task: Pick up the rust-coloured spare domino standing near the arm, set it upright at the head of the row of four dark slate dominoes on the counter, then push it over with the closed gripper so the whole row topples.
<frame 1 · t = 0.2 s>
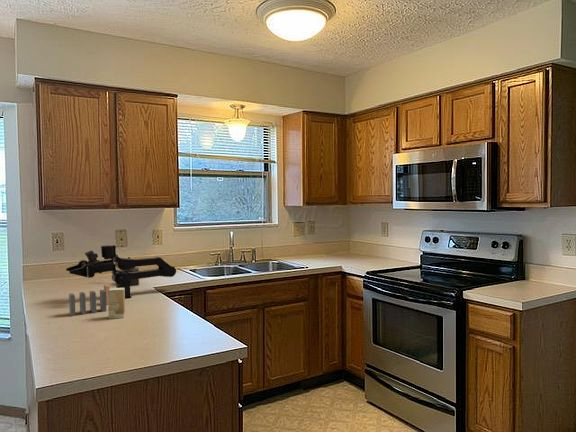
hand: (67, 270, 213), 16 cm above the countertop, tool horizontal, fingers open, 9 cm apart
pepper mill: (125, 285, 263), on the countertop
domino 4: (82, 313, 197), on the countertop
domino 5: (72, 314, 194), on the countertop
domino 3: (93, 311, 199), on the countertop
skincare box: (117, 317, 190), on the countertop
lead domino: (107, 304, 214), on the countertop
domino 2: (103, 310, 202), on the countertop
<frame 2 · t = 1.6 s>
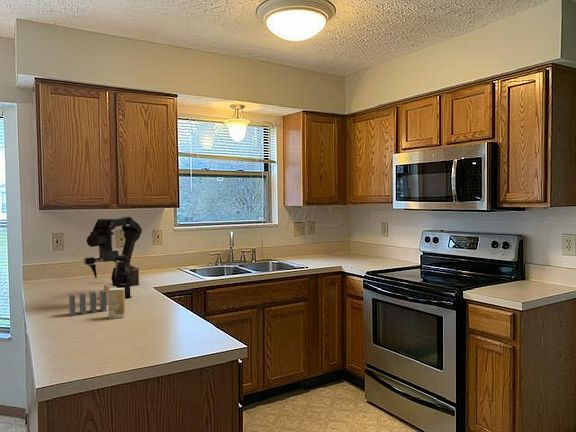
hand: (106, 277, 213), 13 cm above the countertop, tool pointing down, fingers open, 9 cm apart
nothing on the countertop moved.
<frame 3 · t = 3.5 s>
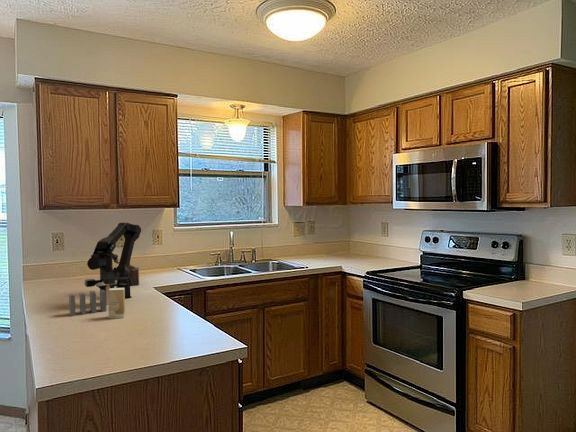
hand: (107, 298, 214), 3 cm above the countertop, tool pointing down, fingers closed on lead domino, 2 cm apart
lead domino: (107, 304, 214), on the countertop, touching gripper
everything else where it was.
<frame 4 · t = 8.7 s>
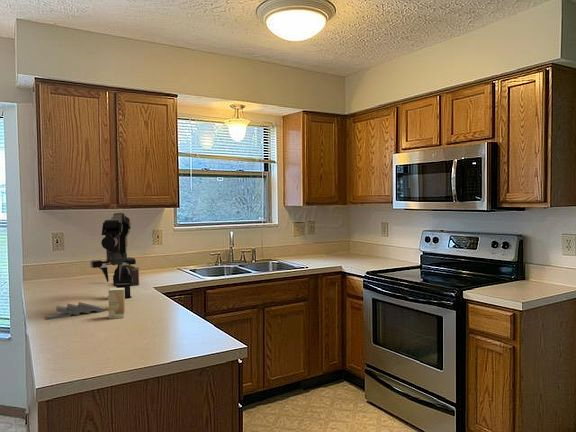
hand: (113, 281, 204), 13 cm above the countertop, tool pointing down, fingers open, 5 cm apart
domino 4: (78, 312, 196), point 1 cm above the countertop, tilted 71°, touching domino 3
domino 5: (69, 314, 194), on the countertop, tilted 90°
domino 3: (89, 310, 198), point 1 cm above the countertop, tilted 69°, touching domino 2, domino 4
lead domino: (115, 309, 204), on the countertop
domino 2: (99, 309, 201), point 1 cm above the countertop, tilted 69°, touching domino 3
everything else where it was.
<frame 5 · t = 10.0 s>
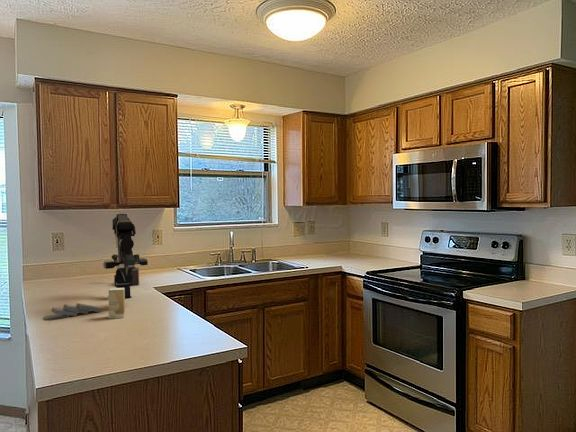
hand: (126, 281, 207), 12 cm above the countertop, tool pointing down, fingers closed
domino 4: (75, 312, 194), point 1 cm above the countertop, tilted 73°, touching domino 3
domino 3: (85, 311, 197), point 1 cm above the countertop, tilted 69°, touching domino 4
domino 2: (98, 309, 200), point 1 cm above the countertop, tilted 70°
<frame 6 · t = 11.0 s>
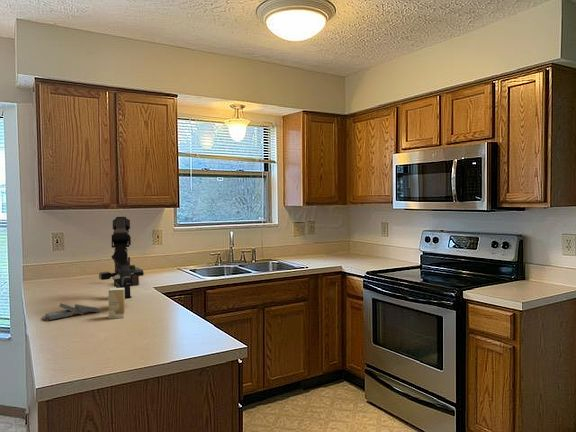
hand: (122, 292, 206), 7 cm above the countertop, tool pointing down, fingers closed
domino 4: (69, 312, 192), point 2 cm above the countertop, tilted 90°
domino 3: (81, 312, 196), point 1 cm above the countertop, tilted 61°, touching domino 2
domino 2: (96, 309, 200), point 1 cm above the countertop, tilted 71°, touching domino 3
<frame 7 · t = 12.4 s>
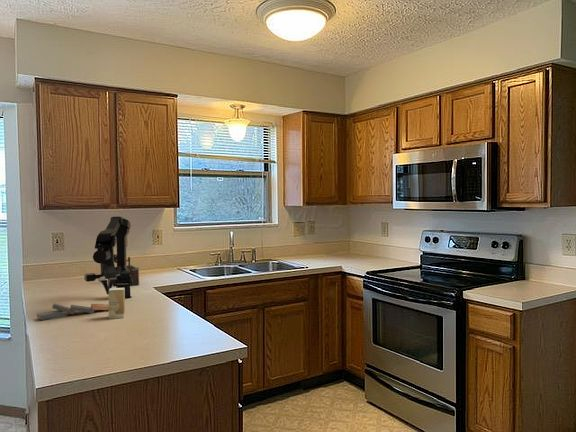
hand: (108, 294, 203), 7 cm above the countertop, tool pointing down, fingers closed
domino 4: (61, 312, 193), point 2 cm above the countertop, tilted 90°, touching domino 3, domino 5
domino 5: (65, 316, 193), on the countertop, tilted 90°, touching domino 4
domino 3: (74, 312, 195), point 1 cm above the countertop, tilted 65°, touching domino 2, domino 4
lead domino: (112, 307, 203), point 1 cm above the countertop, tilted 79°, touching domino 2
domino 2: (92, 310, 199), point 1 cm above the countertop, tilted 73°, touching domino 3, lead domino
everything else where it was.
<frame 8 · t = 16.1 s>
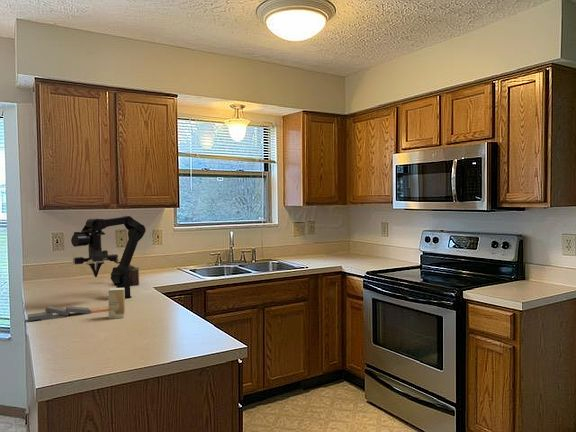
hand: (95, 277, 214), 13 cm above the countertop, tool pointing down, fingers closed
domino 4: (52, 314, 190), point 1 cm above the countertop, tilted 90°, touching domino 3, domino 5
domino 3: (69, 313, 194), point 1 cm above the countertop, tilted 73°, touching domino 2, domino 4
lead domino: (112, 309, 203), on the countertop, tilted 90°
domino 2: (88, 310, 198), point 1 cm above the countertop, tilted 76°, touching domino 3
everything else where it was.
at the end: domino 5 tilted 90°; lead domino tilted 90°; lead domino inside the target area (2.0 cm from its centre), on the countertop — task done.
